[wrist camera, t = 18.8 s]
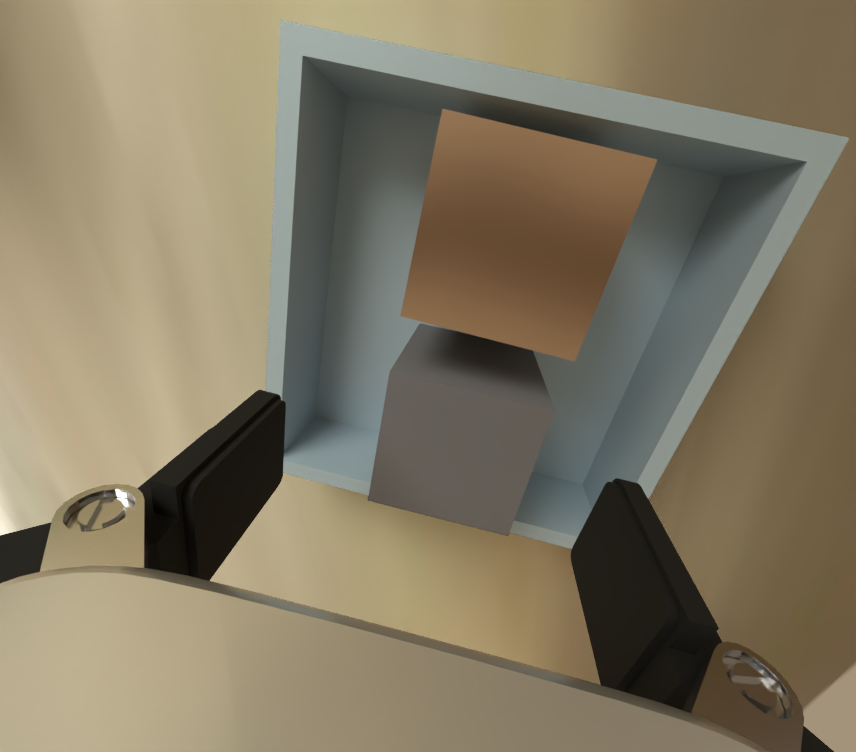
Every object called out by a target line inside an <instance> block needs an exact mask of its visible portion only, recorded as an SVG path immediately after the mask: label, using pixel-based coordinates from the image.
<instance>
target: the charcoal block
mask: <svg viewBox="0 0 856 752" xmlns="http://www.w3.org/2000/svg"><path fill="white" fill-rule="evenodd" d="M554 412H555V409H554V406H553V404H552V401H551V398H550V396H549V393H548V390H547V387H546V385H545V382H544V379H543V377H542V374H541V371H540V369H539V366H538V363H537V360H536V358H535V355H534V352H533V350H529V349H525V348H521V347H517V346H513V345H510V344H506V343H502V342H498V341H494V340H490V339H486V338H482V337H478V336H474V335H469V334H465V333H461V332H456V331H452V330H447V329H443V328H439V327H434V326H430V325H426V324H421V323H420V324H419V325H418V327H417V328H416V330H415V332H414V333H413V335H412V336H411V338H410V340H409V341H408V343H407V344H406V346H405V348H404V349H403V351H402V352H401V354H400V356H399V357H398V359H397V360H396V362H395V364H394V365H393V367H392V368H391V370H390V372H389V378H388V384H387V390H386V396H385V402H384V408H383V414H382V419H381V425H380V431H379V437H378V443H377V449H376V455H375V461H374V467H373V473H372V479H371V485H370V490H369V496H368V501H372V502H376V503H380V504H384V505H388V506H392V507H396V508H400V509H404V510H408V511H411V512H415V513H419V514H423V515H427V516H431V517H435V518H439V519H443V520H447V521H451V522H455V523H459V524H462V525H466V526H470V527H474V528H478V529H482V530H486V531H490V532H494V533H498V534H502V535H506V536H508V535H509V532H510V530H511V527H512V524H513V522H514V519H515V516H516V514H517V511H518V508H519V506H520V503H521V500H522V498H523V495H524V492H525V490H526V487H527V484H528V482H529V479H530V476H531V473H532V471H533V468H534V465H535V463H536V460H537V457H538V455H539V452H540V449H541V447H542V444H543V441H544V439H545V436H546V433H547V431H548V428H549V425H550V423H551V420H552V417H553V415H554Z"/></svg>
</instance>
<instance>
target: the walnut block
mask: <svg viewBox="0 0 856 752" xmlns="http://www.w3.org/2000/svg"><path fill="white" fill-rule="evenodd" d="M656 162H657V159H653V158H649V157H645V156H640V155H636V154H632V153H628V152H623V151H619V150H615V149H611V148H607V147H602V146H598V145H594V144H590V143H586V142H581V141H577V140H573V139H569V138H565V137H560V136H556V135H552V134H548V133H543V132H539V131H535V130H531V129H527V128H522V127H518V126H514V125H510V124H506V123H501V122H497V121H493V120H489V119H484V118H480V117H476V116H472V115H468V114H463V113H459V112H455V111H451V110H447V109H442V112H441V117H440V122H439V127H438V132H437V137H436V142H435V147H434V152H433V157H432V162H431V167H430V172H429V177H428V182H427V187H426V192H425V197H424V201H423V206H422V211H421V216H420V221H419V226H418V231H417V236H416V241H415V246H414V251H413V256H412V261H411V266H410V271H409V276H408V281H407V286H406V291H405V296H404V301H403V305H402V310H401V315H400V316H402V317H406V318H409V319H413V320H417V321H421V322H425V323H429V324H433V325H436V326H440V327H444V328H448V329H452V330H456V331H460V332H463V333H467V334H471V335H475V336H479V337H483V338H486V339H490V340H494V341H498V342H502V343H506V344H510V345H513V346H517V347H521V348H525V349H529V350H533V351H536V352H540V353H544V354H548V355H552V356H556V357H560V358H563V359H567V360H571V361H575V360H576V357H577V355H578V352H579V350H580V348H581V345H582V343H583V340H584V338H585V335H586V333H587V330H588V328H589V326H590V323H591V321H592V318H593V316H594V313H595V311H596V309H597V306H598V304H599V301H600V299H601V296H602V294H603V291H604V289H605V287H606V284H607V282H608V279H609V277H610V274H611V272H612V270H613V267H614V265H615V262H616V260H617V257H618V255H619V252H620V250H621V248H622V245H623V243H624V240H625V238H626V235H627V233H628V231H629V228H630V226H631V223H632V221H633V218H634V216H635V213H636V211H637V209H638V206H639V204H640V201H641V199H642V196H643V194H644V192H645V189H646V187H647V184H648V182H649V179H650V177H651V174H652V172H653V170H654V167H655V165H656Z"/></svg>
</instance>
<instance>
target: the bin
mask: <svg viewBox="0 0 856 752" xmlns="http://www.w3.org/2000/svg"><path fill="white" fill-rule="evenodd" d="M442 109H447V110H451V111H455V112H459V113H463V114H468V115H472V116H476V117H480V118H484V119H489V120H493V121H497V122H501V123H506V124H510V125H514V126H518V127H522V128H527V129H531V130H535V131H539V132H543V133H548V134H552V135H556V136H560V137H565V138H569V139H573V140H577V141H581V142H586V143H590V144H594V145H598V146H602V147H607V148H611V149H615V150H619V151H623V152H628V153H632V154H636V155H640V156H645V157H649V158H653V159H657V162H656V165H655V167H654V170H653V172H652V174H651V177H650V179H649V182H648V184H647V187H646V189H645V192H644V194H643V196H642V199H641V201H640V204H639V206H638V209H637V211H636V213H635V216H634V218H633V221H632V223H631V226H630V228H629V231H628V233H627V235H626V238H625V240H624V243H623V245H622V248H621V250H620V252H619V255H618V257H617V260H616V262H615V265H614V267H613V270H612V272H611V274H610V277H609V279H608V282H607V284H606V287H605V289H604V291H603V294H602V296H601V299H600V301H599V304H598V306H597V309H596V311H595V313H594V316H593V318H592V321H591V323H590V326H589V328H588V330H587V333H586V335H585V338H584V340H583V343H582V345H581V348H580V350H579V352H578V355H577V357H576V360H575V361H571V360H567V359H563V358H560V357H556V356H552V355H548V354H544V353H540V352H536V351H533V352H534V355H535V358H536V360H537V363H538V366H539V369H540V371H541V374H542V377H543V379H544V382H545V385H546V387H547V390H548V393H549V396H550V398H551V401H552V404H553V406H554V409H555V412H554V415H553V417H552V420H551V423H550V425H549V428H548V431H547V433H546V436H545V439H544V441H543V444H542V447H541V449H540V452H539V455H538V457H537V460H536V463H535V465H534V468H533V471H532V473H531V476H530V479H529V482H528V484H527V487H526V490H525V492H524V495H523V498H522V500H521V503H520V506H519V508H518V511H517V514H516V516H515V519H514V522H513V524H512V527H511V530H510V532H509V533H513V534H517V535H520V536H524V537H528V538H532V539H536V540H539V541H543V542H547V543H551V544H555V545H558V546H562V547H566V548H570V549H572V547H573V545H574V543H575V541H576V539H577V538H578V536H579V534H580V532H581V530H582V528H583V526H584V524H585V522H586V520H587V518H588V516H589V514H590V512H591V511H592V509H593V507H594V505H595V503H596V501H597V499H598V497H599V495H600V493H601V491H602V489H603V487H604V485H605V484H606V483H607V482H612V481H613V480H614V479H616V478H619V479H623V480H627V481H631V482H635V483H638V484H640V486H641V487H642V489H643V491H644V493H645V494H646V496H647V498H648V499H649V497H650V495H651V494H652V492H653V490H654V488H655V486H656V485H657V483H658V481H659V479H660V477H661V476H662V474H663V472H664V470H665V468H666V467H667V465H668V463H669V461H670V459H671V458H672V456H673V454H674V452H675V450H676V449H677V447H678V445H679V443H680V441H681V440H682V438H683V436H684V434H685V433H686V431H687V429H688V427H689V425H690V424H691V422H692V420H693V418H694V416H695V415H696V413H697V411H698V409H699V407H700V406H701V404H702V402H703V400H704V398H705V397H706V395H707V393H708V391H709V389H710V388H711V386H712V384H713V382H714V380H715V379H716V377H717V375H718V373H719V372H720V370H721V368H722V366H723V364H724V363H725V361H726V359H727V357H728V355H729V354H730V352H731V350H732V348H733V346H734V345H735V343H736V341H737V339H738V337H739V336H740V334H741V332H742V330H743V328H744V327H745V325H746V323H747V321H748V320H749V318H750V316H751V314H752V312H753V311H754V309H755V307H756V305H757V303H758V302H759V300H760V298H761V296H762V294H763V293H764V291H765V289H766V287H767V285H768V284H769V282H770V280H771V278H772V276H773V275H774V273H775V271H776V269H777V267H778V266H779V264H780V262H781V260H782V259H783V257H784V255H785V253H786V251H787V250H788V248H789V246H790V244H791V242H792V241H793V239H794V237H795V235H796V233H797V232H798V230H799V228H800V226H801V224H802V223H803V221H804V219H805V217H806V215H807V214H808V212H809V210H810V208H811V206H812V205H813V203H814V201H815V199H816V198H817V196H818V194H819V192H820V190H821V189H822V187H823V185H824V183H825V181H826V180H827V178H828V176H829V174H830V172H831V171H832V169H833V167H834V165H835V163H836V162H837V160H838V158H839V156H840V154H841V153H842V151H843V149H844V147H845V146H846V144H847V142H848V140H849V137H844V136H839V135H834V134H829V133H824V132H820V131H815V130H810V129H805V128H800V127H795V126H791V125H786V124H781V123H776V122H771V121H766V120H762V119H757V118H752V117H747V116H742V115H737V114H733V113H728V112H723V111H718V110H713V109H708V108H704V107H699V106H694V105H689V104H684V103H679V102H675V101H670V100H665V99H660V98H655V97H650V96H646V95H641V94H636V93H631V92H626V91H621V90H617V89H612V88H607V87H602V86H597V85H592V84H588V83H583V82H578V81H573V80H568V79H563V78H559V77H554V76H549V75H544V74H539V73H535V72H530V71H525V70H520V69H515V68H510V67H506V66H501V65H496V64H491V63H486V62H481V61H477V60H472V59H467V58H462V57H457V56H452V55H448V54H443V53H438V52H433V51H428V50H423V49H419V48H414V47H409V46H404V45H399V44H394V43H390V42H385V41H380V40H375V39H370V38H365V37H361V36H356V35H351V34H346V33H341V32H336V31H332V30H327V29H322V28H317V27H312V26H307V25H303V24H298V23H293V22H288V21H283V20H281V26H280V50H279V75H278V100H277V124H276V149H275V173H274V198H273V223H272V247H271V272H270V296H269V321H268V346H267V370H266V391H267V392H271V393H275V394H279V395H280V397H281V400H282V401H285V403H286V415H285V438H284V461H283V473H285V474H289V475H292V476H296V477H300V478H304V479H308V480H311V481H315V482H319V483H323V484H327V485H330V486H334V487H338V488H342V489H346V490H349V491H353V492H357V493H361V494H365V495H368V496H369V490H370V485H371V479H372V473H373V467H374V461H375V455H376V449H377V443H378V437H379V431H380V425H381V419H382V414H383V408H384V402H385V396H386V390H387V384H388V378H389V372H390V370H391V368H392V367H393V365H394V364H395V362H396V360H397V359H398V357H399V356H400V354H401V352H402V351H403V349H404V348H405V346H406V344H407V343H408V341H409V340H410V338H411V336H412V335H413V333H414V332H415V330H416V328H417V327H418V325H419V324H420V323H421V324H426V325H430V326H434V327H439V328H443V329H447V330H452V329H448V328H444V327H440V326H436V325H433V324H429V323H425V322H421V321H417V320H413V319H409V318H406V317H402V316H400V315H401V310H402V305H403V301H404V296H405V291H406V286H407V281H408V276H409V271H410V266H411V261H412V256H413V251H414V246H415V241H416V236H417V231H418V226H419V221H420V216H421V211H422V206H423V201H424V197H425V192H426V187H427V182H428V177H429V172H430V167H431V162H432V157H433V152H434V147H435V142H436V137H437V132H438V127H439V122H440V117H441V112H442ZM452 331H456V330H452ZM456 332H460V331H456ZM461 333H463V332H461ZM465 334H467V333H465ZM469 335H471V334H469ZM474 336H475V335H474ZM478 337H479V336H478ZM482 338H483V337H482Z"/></svg>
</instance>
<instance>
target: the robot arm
mask: <svg viewBox="0 0 856 752" xmlns="http://www.w3.org/2000/svg"><path fill="white" fill-rule="evenodd" d="M285 415H286V403H285V401H282V400H281V397H280V395H279V394H275V393H271V392H267V391H263V390H258V391H256V392H255V393H254V394H253V395H252V396H250V397H249V398H248V399H247V400H246V401H244V402H243V403H242V404H241V405H239V406H238V407H237V408H236V409H235V410H233V411H232V412H231V413H230V414H229V415H227V416H226V417H225V418H224V419H223V420H221V421H220V422H219V423H218V424H217V425H215V426H214V427H213V428H211V429H209V430H208V431H207V432H205V433H204V434H203V435H202V436H201V437H199V438H198V439H197V440H196V441H195V442H193V443H192V444H191V445H190V446H189V447H187V448H186V449H185V450H184V451H182V452H181V453H180V454H179V455H178V456H176V457H175V458H174V459H173V460H172V461H170V462H169V463H168V464H167V465H165V466H164V467H163V468H162V469H161V470H159V471H158V472H157V473H156V474H155V475H153V476H152V477H151V478H150V479H149V480H147V481H146V482H145V483H144V484H142V485H141V486H140V487H139V488H138V489H137V488H135V487H132V486H129V485H121V484H113V485H104V486H100V487H96V488H92V489H89V490H87V491H84V492H82V493H80V494H77V495H76V496H74V497H73V498H71V499H69V500H68V501H66V502H65V503H64V504H63V505H62V506H61V507H60V508H59V509H58V510H57V511H56V513H55V515H54V517H53V519H52V522H51V523H47V524H44V525H40V526H36V527H32V528H28V529H24V530H20V531H17V532H13V533H9V534H5V535H1V536H0V752H834V751H833V750H831V749H830V748H829V747H828V746H827V745H825V744H824V743H823V742H822V741H821V740H820V739H818V738H817V737H816V736H815V735H814V734H813V733H811V732H810V731H809V730H808V729H807V728H806V727H804V726H803V724H804V716H803V708H802V706H801V704H800V702H799V700H798V697H797V695H796V694H795V692H794V691H793V689H792V688H791V687H790V685H789V684H788V682H787V681H786V680H785V679H784V678H783V677H782V675H781V674H780V673H779V672H778V671H777V670H776V669H775V668H774V667H773V666H772V665H770V664H769V663H768V662H767V661H766V660H765V659H763V658H762V657H761V656H759V655H758V654H756V653H755V652H753V651H751V650H750V649H748V648H746V647H743V646H741V645H739V644H736V643H731V642H723V643H722V641H721V639H720V637H719V635H718V633H717V632H716V631H717V630H718V629H719V628H718V626H717V624H716V622H715V620H714V619H713V617H712V615H711V613H710V611H709V609H708V608H707V606H706V604H705V602H704V600H703V598H702V597H701V595H700V593H699V591H698V589H697V588H696V586H695V584H694V582H693V580H692V578H691V577H690V575H689V573H688V571H687V569H686V567H685V566H684V564H683V562H682V560H681V558H680V556H679V555H678V553H677V551H676V549H675V547H674V546H673V544H672V542H671V540H670V538H669V536H668V535H667V533H666V531H665V529H664V527H663V525H662V524H661V522H660V520H659V518H658V516H657V515H656V513H655V511H654V509H653V507H652V505H651V504H650V502H649V500H648V498H647V496H646V494H645V493H644V491H643V489H642V487H641V486H640V484H638V483H635V482H631V481H627V480H623V479H619V478H616V479H614V480H613V481H612V482H607V483H606V484H605V485H604V487H603V489H602V491H601V493H600V495H599V497H598V499H597V501H596V503H595V505H594V507H593V509H592V511H591V512H590V514H589V516H588V518H587V520H586V522H585V524H584V526H583V528H582V530H581V532H580V534H579V536H578V538H577V539H576V541H575V543H574V545H573V547H572V551H571V562H572V566H573V570H574V574H575V579H576V583H577V587H578V591H579V595H580V599H581V604H582V608H583V612H584V616H585V620H586V624H587V629H588V633H589V637H590V641H591V645H592V650H593V654H594V658H595V662H596V666H597V670H598V675H599V679H600V683H601V685H598V684H595V683H591V682H588V681H584V680H581V679H577V678H573V677H570V676H566V675H563V674H559V673H555V672H552V671H548V670H544V669H541V668H537V667H533V666H530V665H526V664H522V663H519V662H515V661H511V660H508V659H504V658H501V657H497V656H493V655H490V654H486V653H482V652H479V651H475V650H471V649H467V648H464V647H460V646H456V645H453V644H449V643H445V642H441V641H438V640H434V639H430V638H427V637H423V636H419V635H415V634H412V633H408V632H404V631H400V630H397V629H393V628H389V627H385V626H382V625H378V624H374V623H371V622H367V621H363V620H359V619H356V618H352V617H348V616H344V615H340V614H336V613H333V612H329V611H325V610H321V609H317V608H314V607H310V606H306V605H302V604H298V603H294V602H291V601H287V600H283V599H279V598H275V597H272V596H268V595H264V594H260V593H256V592H252V591H248V590H244V589H240V588H236V587H232V586H228V585H224V584H220V583H215V582H211V581H209V580H210V579H211V578H212V576H213V575H214V574H215V572H216V571H217V569H218V568H219V567H220V565H221V564H222V563H223V561H224V560H225V558H226V557H227V556H228V554H229V553H230V552H231V550H232V549H233V547H234V546H235V545H236V543H237V542H238V541H239V539H240V538H241V536H242V535H243V534H244V532H245V531H246V530H247V528H248V527H249V525H250V524H251V523H252V521H253V520H254V519H255V517H256V516H257V514H258V513H259V512H260V510H261V509H262V508H263V506H264V505H265V503H266V502H267V501H268V499H269V498H270V497H271V495H272V494H273V492H274V491H275V490H276V488H277V487H278V485H279V484H280V482H281V479H282V476H283V461H284V438H285Z"/></svg>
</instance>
